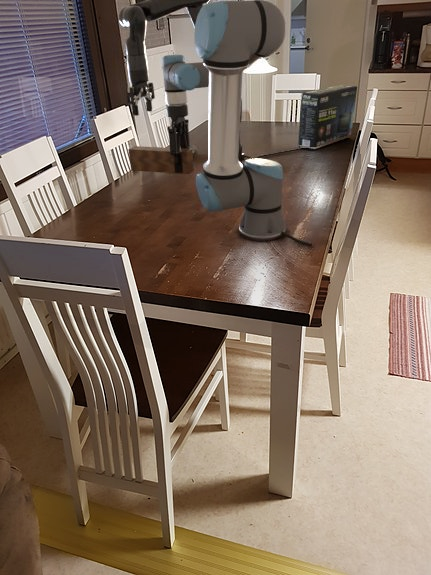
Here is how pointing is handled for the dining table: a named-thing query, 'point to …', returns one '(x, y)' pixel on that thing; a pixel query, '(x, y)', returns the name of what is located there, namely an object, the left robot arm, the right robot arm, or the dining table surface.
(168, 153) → the bar
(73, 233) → the dining table surface
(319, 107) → the router box
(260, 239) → the right robot arm
